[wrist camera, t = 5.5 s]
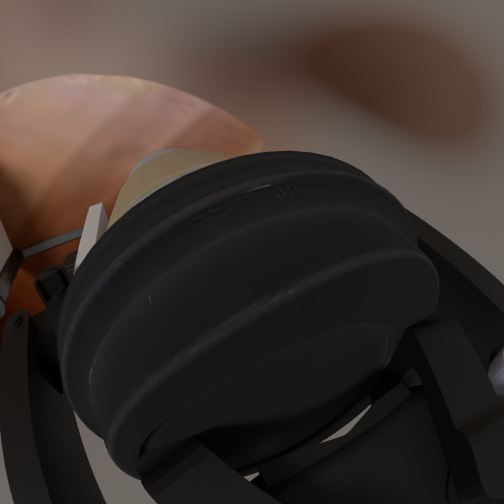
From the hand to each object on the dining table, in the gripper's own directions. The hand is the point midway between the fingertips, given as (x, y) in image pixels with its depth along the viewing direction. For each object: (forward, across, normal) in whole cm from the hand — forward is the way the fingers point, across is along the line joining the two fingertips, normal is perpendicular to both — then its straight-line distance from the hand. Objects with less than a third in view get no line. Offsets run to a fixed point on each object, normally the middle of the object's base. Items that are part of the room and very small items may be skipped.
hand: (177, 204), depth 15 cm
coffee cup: (+2, 0, 0) cm, 2 cm away
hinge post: (+19, -22, -7) cm, 30 cm away
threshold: (+19, -14, -7) cm, 24 cm away
